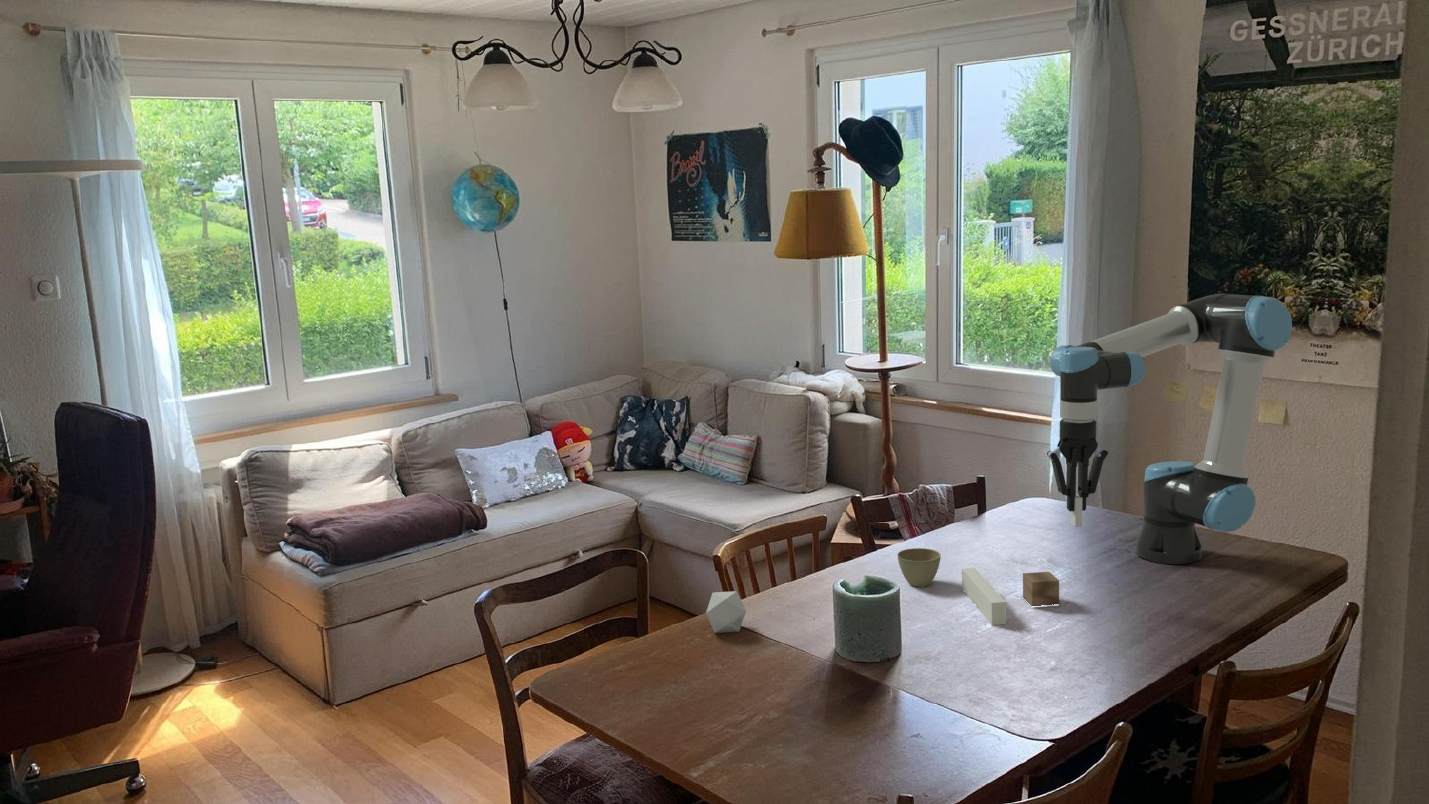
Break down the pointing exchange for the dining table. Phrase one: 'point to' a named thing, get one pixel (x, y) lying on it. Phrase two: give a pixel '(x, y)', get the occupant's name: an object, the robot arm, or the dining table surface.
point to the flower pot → (919, 565)
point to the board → (984, 596)
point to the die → (725, 612)
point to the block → (1040, 588)
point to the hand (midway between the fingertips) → (1076, 524)
